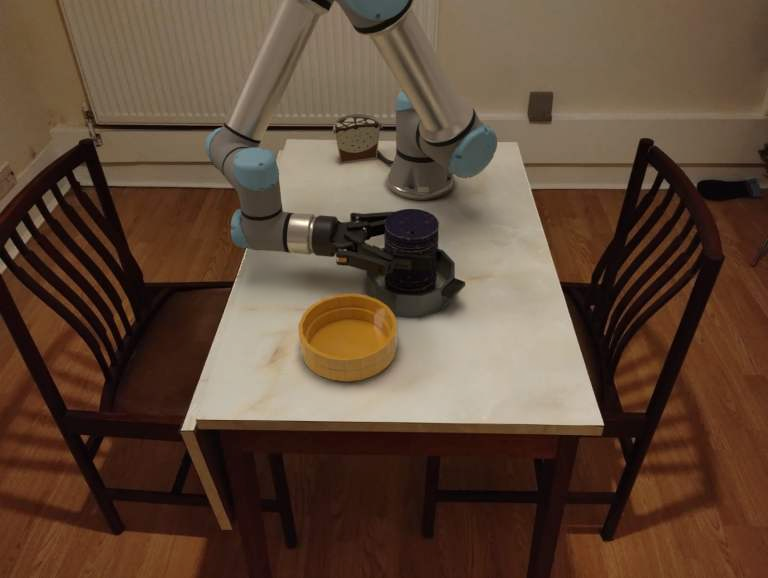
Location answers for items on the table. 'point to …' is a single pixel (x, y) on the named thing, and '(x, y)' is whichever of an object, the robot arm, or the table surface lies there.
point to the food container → (357, 137)
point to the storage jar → (412, 249)
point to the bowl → (348, 337)
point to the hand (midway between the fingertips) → (434, 245)
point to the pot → (418, 302)
